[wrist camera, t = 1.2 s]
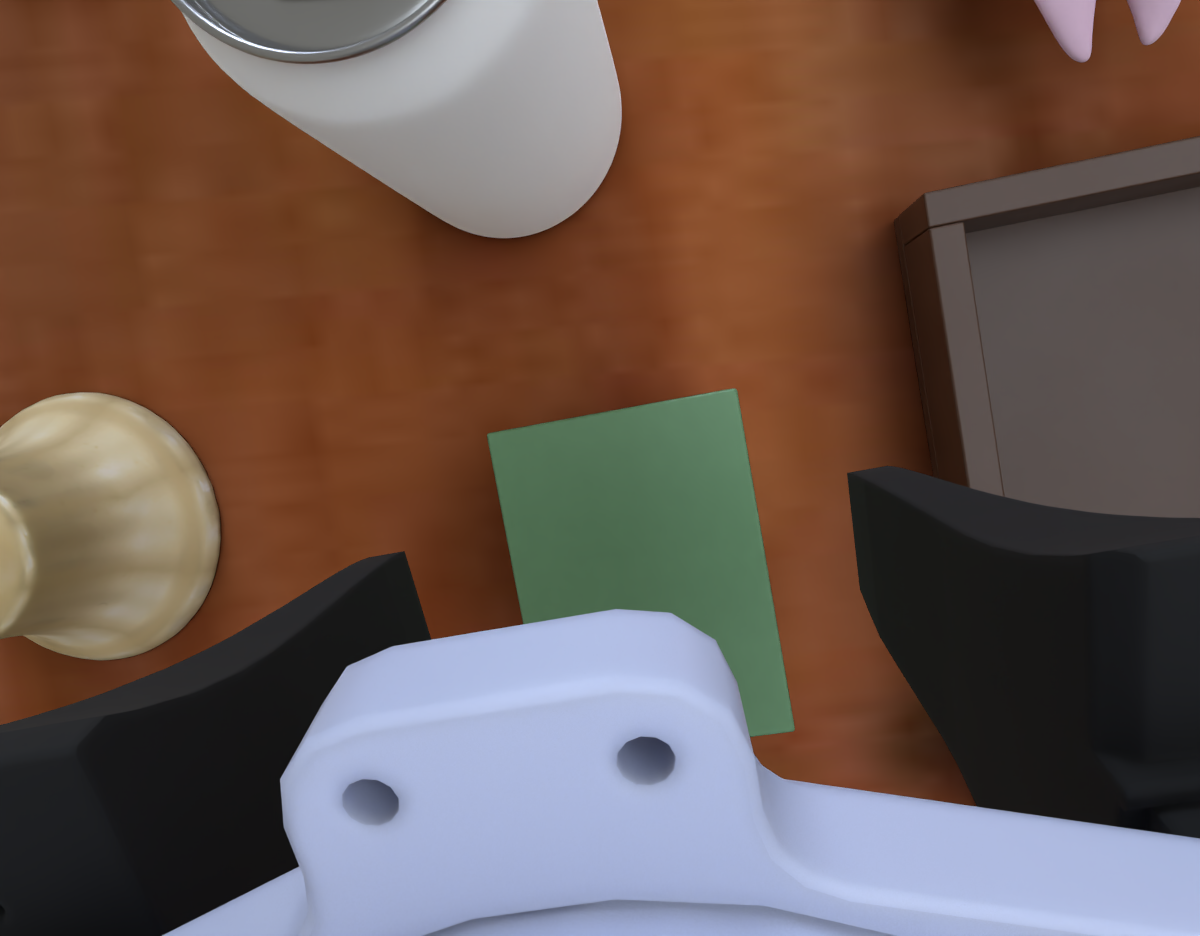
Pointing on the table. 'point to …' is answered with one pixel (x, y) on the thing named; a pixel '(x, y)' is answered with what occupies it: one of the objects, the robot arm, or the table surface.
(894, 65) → the table surface
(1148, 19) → the rabbit figure
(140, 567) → the hand bell
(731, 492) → the container
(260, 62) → the can
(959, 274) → the tray
